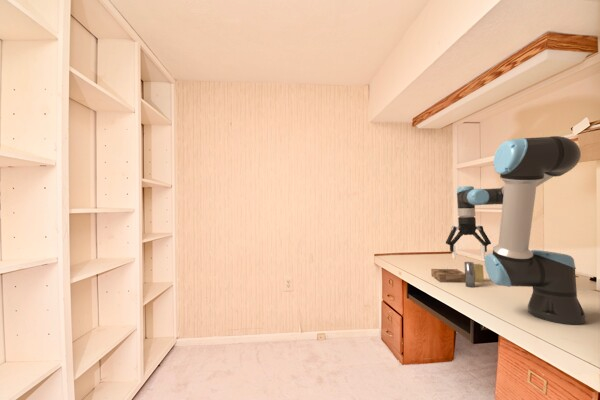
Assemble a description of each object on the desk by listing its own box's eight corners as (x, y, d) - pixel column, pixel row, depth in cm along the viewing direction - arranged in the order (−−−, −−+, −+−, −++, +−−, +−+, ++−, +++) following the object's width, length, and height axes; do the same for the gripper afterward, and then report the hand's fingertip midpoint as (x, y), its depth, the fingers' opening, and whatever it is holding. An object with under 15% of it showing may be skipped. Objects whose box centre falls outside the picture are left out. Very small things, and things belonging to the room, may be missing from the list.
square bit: (483, 282, 140) (482, 265, 141) (475, 282, 141) (474, 265, 141) (480, 280, 144) (479, 263, 145) (472, 280, 145) (471, 263, 145)
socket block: (468, 282, 141) (467, 275, 141) (439, 282, 143) (439, 274, 143) (457, 276, 154) (456, 269, 155) (431, 275, 157) (431, 268, 157)
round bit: (476, 287, 132) (475, 263, 132) (467, 287, 132) (466, 263, 133) (472, 285, 136) (471, 261, 136) (464, 285, 136) (463, 261, 137)
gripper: (489, 215, 137) (491, 256, 137) (437, 216, 141) (439, 256, 141) (497, 216, 130) (500, 259, 129) (443, 217, 134) (444, 259, 133)
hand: (468, 258), depth 135 cm, fingers open, 13 cm apart
